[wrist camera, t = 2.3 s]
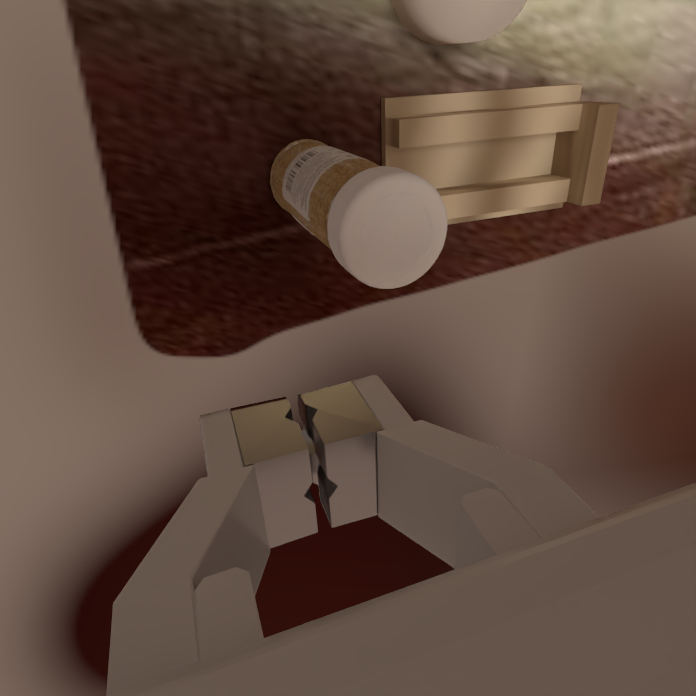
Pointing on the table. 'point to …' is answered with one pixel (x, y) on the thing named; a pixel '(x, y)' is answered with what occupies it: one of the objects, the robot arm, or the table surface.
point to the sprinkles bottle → (362, 211)
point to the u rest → (502, 148)
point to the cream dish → (456, 19)
